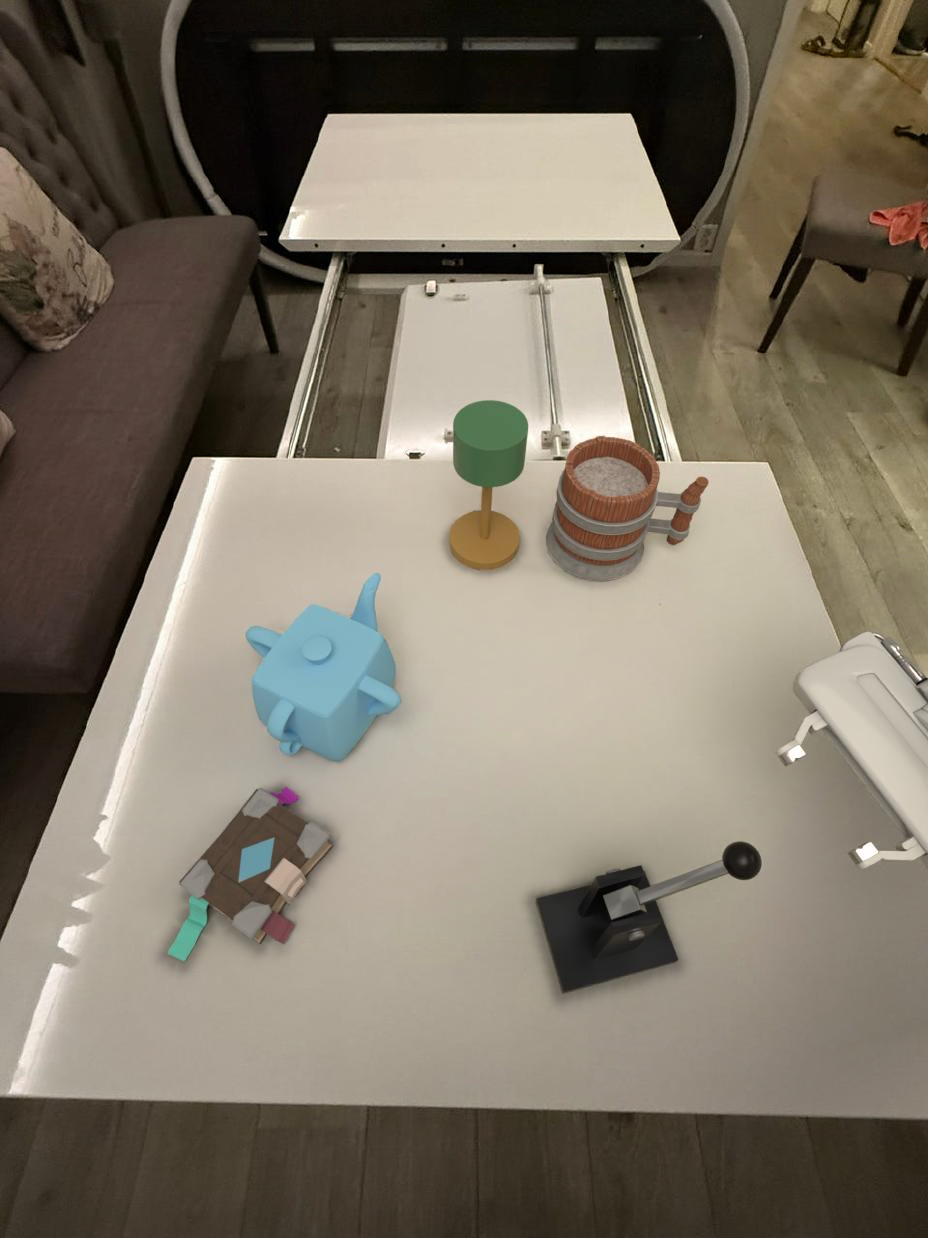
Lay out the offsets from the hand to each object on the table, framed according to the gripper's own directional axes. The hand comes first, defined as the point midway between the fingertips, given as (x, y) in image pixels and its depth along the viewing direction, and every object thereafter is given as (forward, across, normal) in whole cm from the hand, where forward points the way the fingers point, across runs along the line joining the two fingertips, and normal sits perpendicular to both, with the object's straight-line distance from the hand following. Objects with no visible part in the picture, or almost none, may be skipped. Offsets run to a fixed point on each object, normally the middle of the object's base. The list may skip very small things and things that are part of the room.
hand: (816, 808), depth 61 cm
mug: (-4, -42, +30) cm, 52 cm away
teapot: (+37, -37, +14) cm, 54 cm away
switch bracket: (+22, 0, +15) cm, 26 cm away
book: (+51, -20, +6) cm, 55 cm away
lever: (+12, 0, +5) cm, 13 cm away
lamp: (+11, -51, +25) cm, 58 cm away
